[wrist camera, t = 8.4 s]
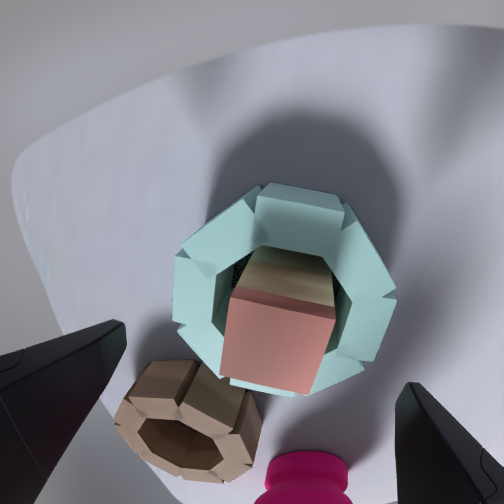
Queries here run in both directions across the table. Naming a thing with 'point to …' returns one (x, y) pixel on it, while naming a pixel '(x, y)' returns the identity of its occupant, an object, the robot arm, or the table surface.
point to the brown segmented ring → (190, 422)
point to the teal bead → (295, 239)
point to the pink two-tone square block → (279, 320)
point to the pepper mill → (306, 479)
